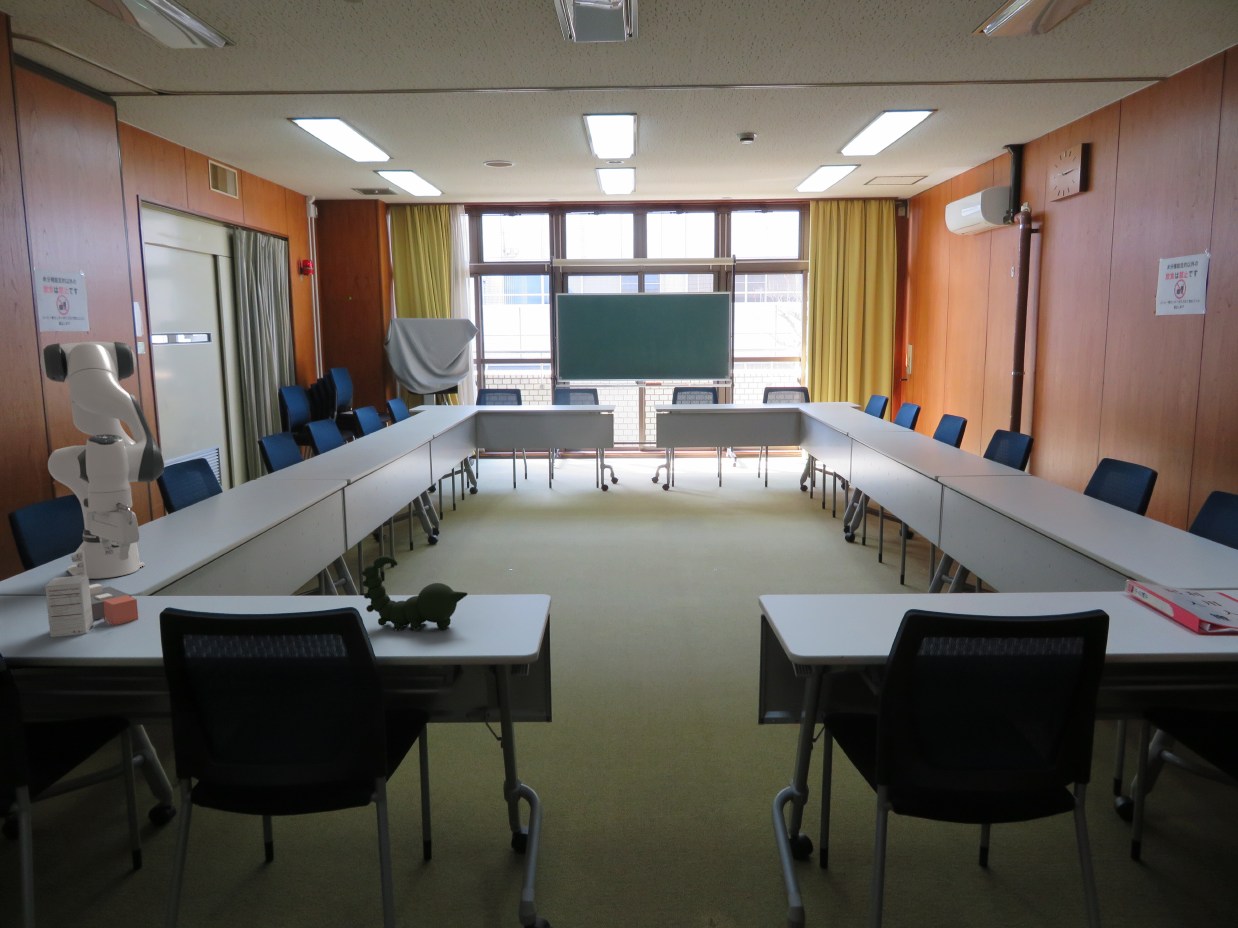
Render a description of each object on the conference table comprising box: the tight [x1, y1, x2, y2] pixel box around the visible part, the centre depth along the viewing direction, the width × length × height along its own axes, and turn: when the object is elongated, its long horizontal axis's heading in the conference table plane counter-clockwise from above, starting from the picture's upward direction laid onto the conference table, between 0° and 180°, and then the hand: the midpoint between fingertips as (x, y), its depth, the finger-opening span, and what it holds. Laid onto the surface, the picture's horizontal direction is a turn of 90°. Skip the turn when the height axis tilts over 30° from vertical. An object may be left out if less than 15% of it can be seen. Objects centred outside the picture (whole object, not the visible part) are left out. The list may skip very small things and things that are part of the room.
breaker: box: [89, 583, 104, 596], centre depth 207 cm, size 3×3×4 cm
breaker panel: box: [90, 586, 132, 621], centre depth 206 cm, size 13×10×4 cm
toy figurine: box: [361, 555, 468, 632], centre depth 192 cm, size 9×19×25 cm
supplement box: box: [44, 575, 94, 638], centre depth 190 cm, size 7×7×13 cm
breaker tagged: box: [95, 593, 113, 601], centre depth 204 cm, size 3×3×4 cm
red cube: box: [103, 595, 139, 626], centre depth 199 cm, size 5×5×5 cm
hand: (116, 556), depth 196 cm, fingers open, 7 cm apart
